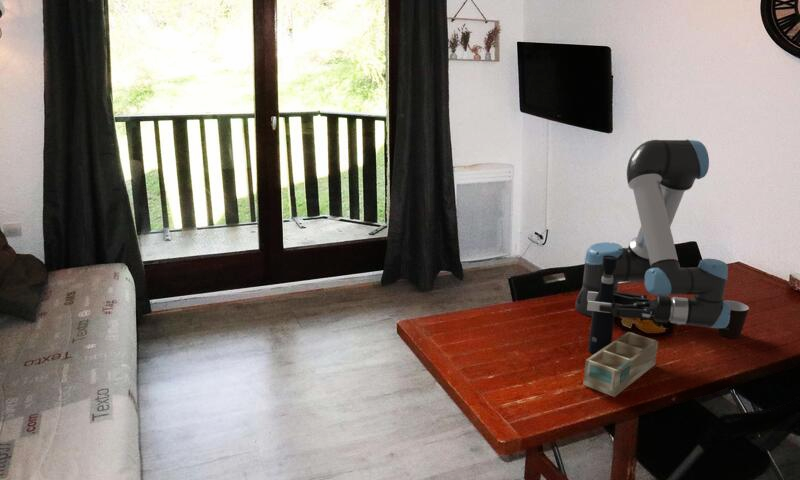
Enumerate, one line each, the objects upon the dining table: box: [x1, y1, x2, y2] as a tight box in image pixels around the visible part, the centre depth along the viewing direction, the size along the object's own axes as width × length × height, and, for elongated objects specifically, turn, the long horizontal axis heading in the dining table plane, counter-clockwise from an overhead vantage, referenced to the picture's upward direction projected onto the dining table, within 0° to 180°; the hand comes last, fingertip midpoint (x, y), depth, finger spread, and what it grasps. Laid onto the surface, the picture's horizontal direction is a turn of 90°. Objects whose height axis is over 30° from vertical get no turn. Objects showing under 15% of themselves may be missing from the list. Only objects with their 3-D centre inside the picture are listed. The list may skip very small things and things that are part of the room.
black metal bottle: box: [587, 255, 617, 355], centre depth 197 cm, size 6×6×30 cm
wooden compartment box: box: [582, 331, 659, 398], centre depth 186 cm, size 9×26×8 cm, turn 137°
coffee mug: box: [717, 300, 750, 340], centre depth 215 cm, size 12×9×10 cm
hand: (587, 300), depth 198 cm, fingers open, 7 cm apart
